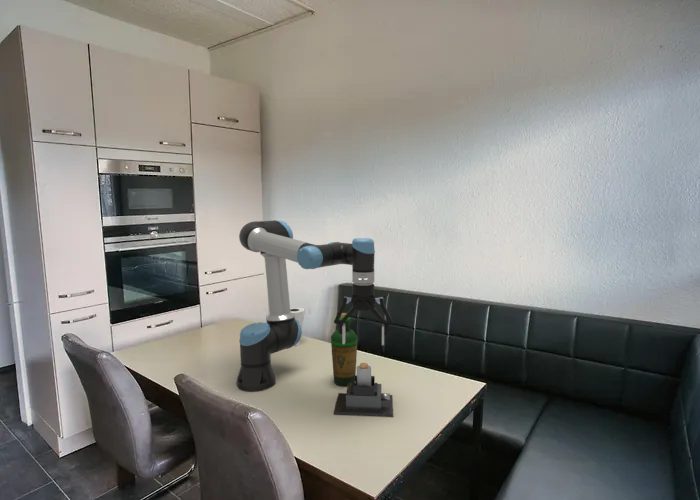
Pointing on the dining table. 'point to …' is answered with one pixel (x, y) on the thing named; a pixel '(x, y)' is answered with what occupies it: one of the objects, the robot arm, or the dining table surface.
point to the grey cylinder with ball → (363, 375)
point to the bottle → (344, 355)
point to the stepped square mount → (364, 401)
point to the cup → (298, 316)
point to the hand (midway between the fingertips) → (363, 343)
